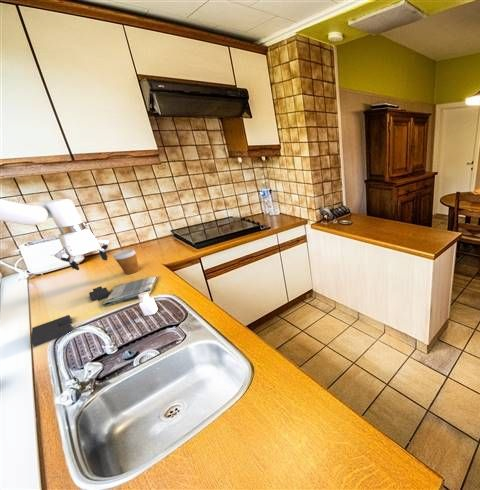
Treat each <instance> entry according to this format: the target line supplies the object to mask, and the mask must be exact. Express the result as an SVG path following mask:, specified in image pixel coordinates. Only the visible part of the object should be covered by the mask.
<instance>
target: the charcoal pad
mask: <svg viewBox="0 0 480 490" xmlns="http://www.w3.org/2000/svg"><path fill="white" fill-rule="evenodd" d="M72 325H73V318H72V317H71V315H70V314H67V315H65V316H62V317H59V318H56V319H53V320H49V321H47V322H44V323H42V324H39V325H36V326H33V327H32V328H31V337H30V344H31V345H32V346H33V348H35V347H39V346H41V345H43V344H46V343H48V342H51V341H54V340H57V339H58V338H61V337H64V336H66V334H67V333H69V332H71V331H72V330H73V331H74V327H73V326H72ZM69 334H70V333H69ZM67 335H68V334H67Z"/></svg>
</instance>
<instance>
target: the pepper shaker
mask: <svg viewBox="0 0 480 490" xmlns="http://www.w3.org/2000/svg"><path fill="white" fill-rule="evenodd" d="M138 297H139V298H138V299H139V300H140V302H139V303H138V305H139V307H140V310H141V312H142V314H143V316H144V317H147V316H152V315H155V314H157V312H158V310H159V308H158V305H157V303H156V301H155V298H154V297H150V294H148V292H143V293H141V294H139V295H138Z"/></svg>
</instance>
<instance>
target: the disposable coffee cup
mask: <svg viewBox="0 0 480 490" xmlns="http://www.w3.org/2000/svg"><path fill="white" fill-rule="evenodd" d="M136 254H137V253H136V250H135V249H132V248H126V249H122V250H119V251H117V252H116V251H115V252H114V254H113V256H112V258H113V259H114V260H115V261H116V262H117V264H118V266H119V267H120V268H121V269H122V271H123V272H124V274H125V275H132V274H137V272H140V265H139V262H138V258H137V255H136Z"/></svg>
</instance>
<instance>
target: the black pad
mask: <svg viewBox="0 0 480 490" xmlns="http://www.w3.org/2000/svg"><path fill="white" fill-rule="evenodd" d="M88 295H89V298H90V300H91V302H95V301H98V302H99V301H102V300H106V299H107V298H108V296H109V295H110V293H109V290H108V288H107V287H102V286H98V287H95V288H92V291H90V292H88Z"/></svg>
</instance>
